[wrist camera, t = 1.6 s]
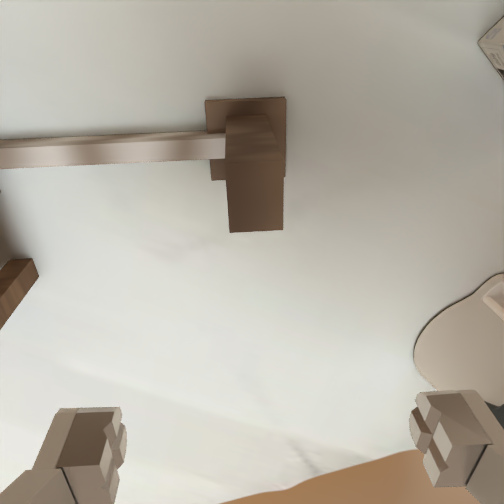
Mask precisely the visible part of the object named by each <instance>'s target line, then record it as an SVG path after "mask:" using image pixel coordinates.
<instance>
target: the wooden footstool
mask: <svg viewBox="0 0 504 504" xmlns="http://www.w3.org/2000/svg"><path fill="white" fill-rule="evenodd" d="M38 277H39V275H38V273H37V270H36V267H35V265H34V262H33V259H15V260H9V261H8V263H7V264H6V265H5V266H4V267H3V268H2V269H1V270H0V330H1V328H2V327H3V325H4V324H5V323H6V321H7V320H8V319H9V317H10V316H11V314H12V313H13V312H14V310H15V309H16V308H17V306H18V305H19V303H20V302H21V301H22V299H23V298H24V297H25V295H26V294H27V292H28V291H29V290H30V288H31V287H32V286H33V284H34V283H35V281H36V280H37V279H38Z"/></svg>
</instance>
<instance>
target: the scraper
mask: <svg viewBox="0 0 504 504" xmlns="http://www.w3.org/2000/svg"><path fill="white" fill-rule="evenodd" d="M205 112H206V123H207V131H187V132H165V133H143V134H121V135H99V136H77V137H55V138H33V139H10V140H0V169H12V168H33V167H54V166H75V165H96V164H118V163H139V162H160V161H181V160H202V159H210V168H211V179H212V181H213V180H226V187H227V201H228V216H229V230H230V233H234V232H253V231H272V230H283V187H284V177H285V159H286V98H285V97H269V98H246V99H223V100H205ZM0 193H1V191H0Z"/></svg>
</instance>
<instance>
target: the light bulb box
mask: <svg viewBox="0 0 504 504" xmlns="http://www.w3.org/2000/svg"><path fill="white" fill-rule="evenodd" d="M478 44H479V46H480V47H481V48H482V50H483V51H484V53H485V54H486V55H487V57H488V58H489V60H490V61H491V63H492V64H493V65H494V67H495V68H496V69H497V71H498V72H499V74H500V75H501V76H502V78H503V79H504V17H503V18H502V19H501V20H500V21H499V22H498V23H497V24H496V25H495V26H494V27H493V28H492V29H490V30H489V31H488V32H487V33H486V34H485V35H484V36H483V37H482V38H481V39H480V41H479V42H478Z"/></svg>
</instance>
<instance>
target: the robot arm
mask: <svg viewBox="0 0 504 504" xmlns="http://www.w3.org/2000/svg"><path fill="white" fill-rule="evenodd" d="M414 363H415V366H416V368H417V370H418V372H419V373H420V374H421V375H422V376H423V377H424V378H425V379H426V380H427V381H428V382H429V383H430V384H431V385H432V386H433V387H434V388H435V389H436V390H437V391H430V392H420V393H419V394H417V396H416V399H415V402H416V404H417V406H418V407H416V408H415V409H414V410H413V411H411V415H410V418H409V426H410V432H411V436H412V439H413V441H414V444H415V446H416V447H417V448H418V449H419V450H420V451H422V452H423V453H424V454H425V456H424V460H423V464H424V466H425V468H426V471H427V473H428V475H429V477H430V479H431V482H432V484H433V486H434V487H458V486H459V487H461V486H466V489H467V490H468V491H469V492H470V493H471V494H472V495H473V496H474V497H475V498H476V499H477V500H478V501H479V502H480V503H481V504H504V274H498V275H496V276H494V277H492V278H491V279H489V280H488V281H487V282H486V283H484V284H483V285H482V286H481V287H480V288H479V289H478V290H477V291H476V292H475V293H474V294H472V295H471V296H469V297H467V298H466V299H464V300H462V301H460V302H458V303H456V304H454V305H452V306H451V307H449V308H447V309H446V310H444V311H443V312H442V313H440V314H439V315H438V316H437V317H435V318H434V319H433V320H432V321H431V322H430V323H429V324H428V325H427V327H426V328H425V329H424V330H423V332H422V333H421V335H420V337H419V339H418V341H417V343H416V346H415V350H414ZM121 418H122V412H121V409H120V407H93V408H61V409H60V410H59V411H58V412H57V413H56V414H55V416H54V419H53V421H52V423H51V426H50V428H49V430H48V433H47V435H46V437H45V440H44V442H43V444H42V447H41V449H40V451H39V454H38V456H37V459H36V461H35V463H34V466H33V468H32V470H25V471H24V472H23V473H22V474H21V475H20V476H19V477H18V478H17V479H16V480H15V481H13V482H12V483H11V484H10V485H9V486H8V487H7V488H6V489H5V490H4V491H3V492H2V493H0V504H114V502H115V498H116V494H117V489H118V485H119V481H120V479H119V475H118V472H117V469H118V468H119V467H120V466H121V465H122V464H123V463H124V458H125V453H126V445H127V433H126V428H125V425H123V424H122V423H121Z"/></svg>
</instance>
